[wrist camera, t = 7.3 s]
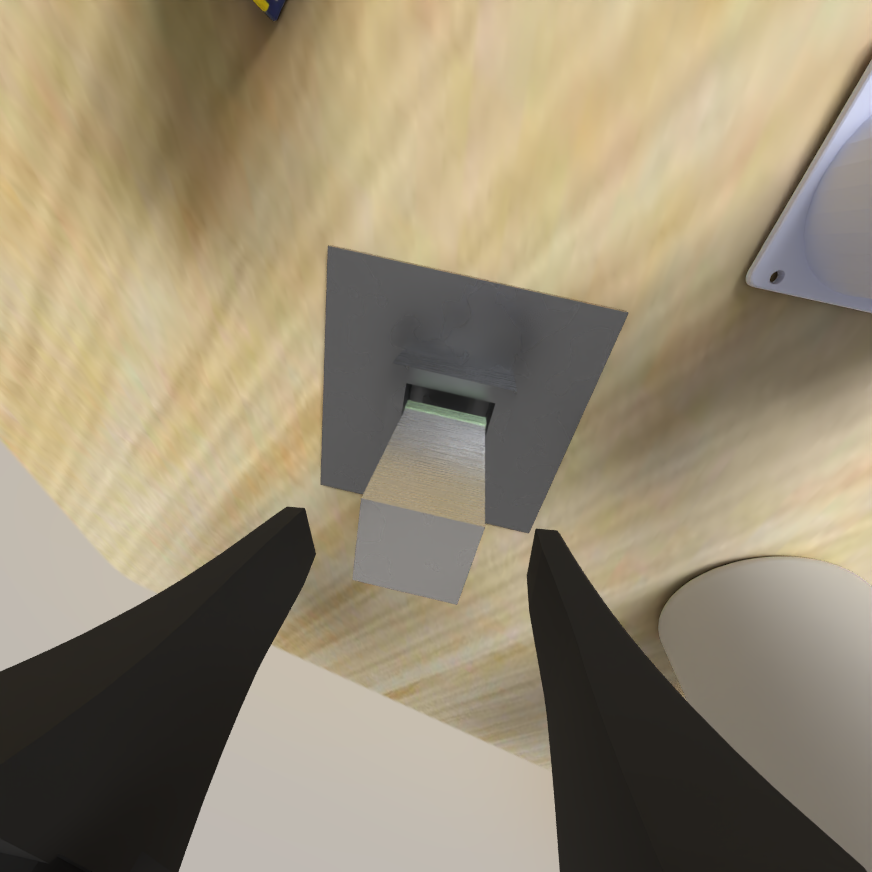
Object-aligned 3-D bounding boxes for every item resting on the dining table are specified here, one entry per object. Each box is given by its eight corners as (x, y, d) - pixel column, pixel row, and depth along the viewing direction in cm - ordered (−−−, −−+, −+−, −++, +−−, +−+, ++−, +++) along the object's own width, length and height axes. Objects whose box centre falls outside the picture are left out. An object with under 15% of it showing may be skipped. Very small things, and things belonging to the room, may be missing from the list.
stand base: (624, 310, 16) (647, 321, 14) (528, 527, 23) (532, 558, 21) (332, 245, 16) (307, 245, 14) (323, 480, 23) (306, 505, 21)
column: (486, 417, 15) (487, 526, 9) (467, 481, 17) (458, 606, 11) (408, 399, 16) (359, 496, 9) (397, 464, 17) (350, 580, 11)
